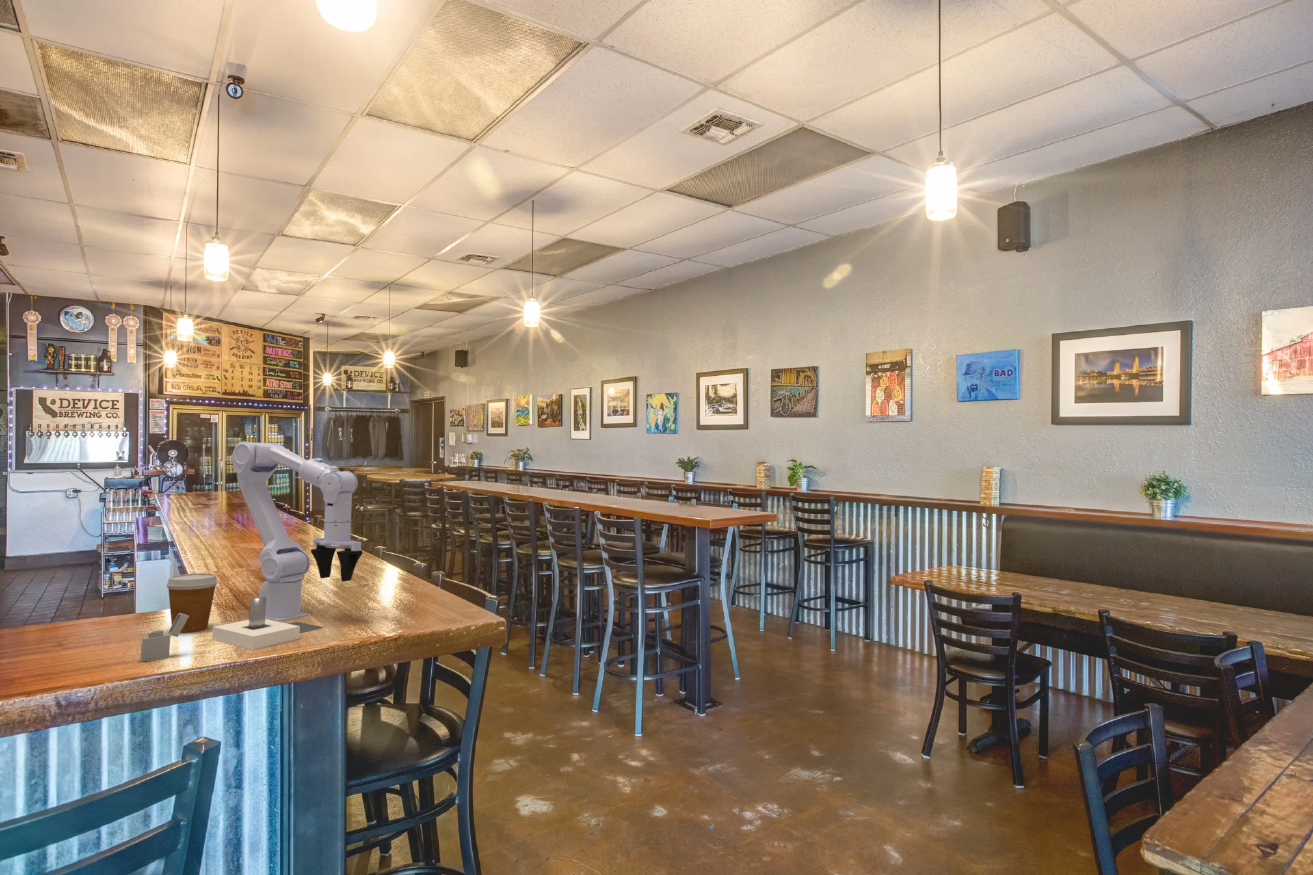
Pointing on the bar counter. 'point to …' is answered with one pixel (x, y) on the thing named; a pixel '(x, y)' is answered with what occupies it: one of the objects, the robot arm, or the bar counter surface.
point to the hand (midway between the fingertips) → (335, 579)
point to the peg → (257, 613)
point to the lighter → (161, 640)
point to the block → (255, 634)
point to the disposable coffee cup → (192, 599)
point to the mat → (305, 626)
